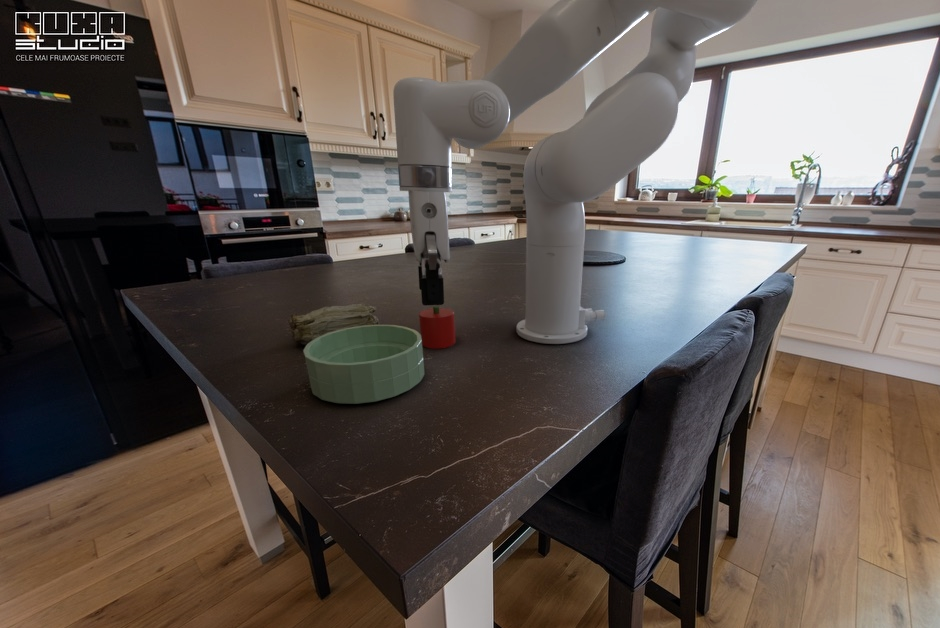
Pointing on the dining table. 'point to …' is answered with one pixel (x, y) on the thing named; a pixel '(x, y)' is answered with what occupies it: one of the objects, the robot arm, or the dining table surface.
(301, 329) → the olive rough flat block
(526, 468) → the dining table surface
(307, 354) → the sage green round tray
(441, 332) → the red squat cylinder
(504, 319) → the dining table surface
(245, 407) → the dining table surface
